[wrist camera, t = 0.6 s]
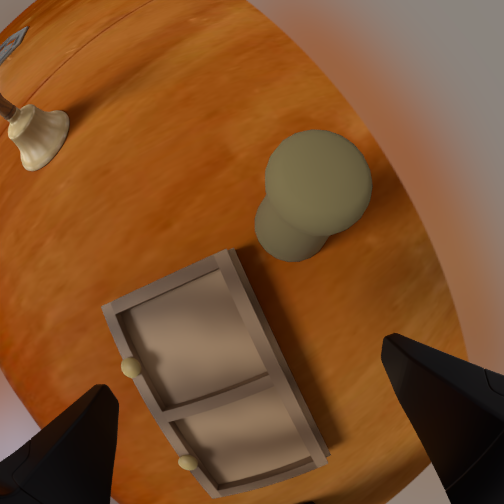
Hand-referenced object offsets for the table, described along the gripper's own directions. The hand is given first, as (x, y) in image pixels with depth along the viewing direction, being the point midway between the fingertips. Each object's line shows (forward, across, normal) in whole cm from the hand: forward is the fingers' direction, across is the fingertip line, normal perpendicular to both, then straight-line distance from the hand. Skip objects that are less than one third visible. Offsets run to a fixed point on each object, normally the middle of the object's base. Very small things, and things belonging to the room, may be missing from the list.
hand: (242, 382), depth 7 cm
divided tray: (+10, +4, +11) cm, 15 cm away
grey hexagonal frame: (+42, +51, -54) cm, 85 cm away
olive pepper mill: (+15, -5, 0) cm, 16 cm away
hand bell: (+23, +21, -15) cm, 34 cm away
